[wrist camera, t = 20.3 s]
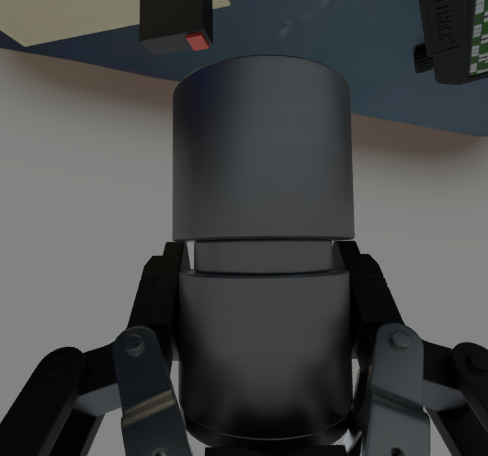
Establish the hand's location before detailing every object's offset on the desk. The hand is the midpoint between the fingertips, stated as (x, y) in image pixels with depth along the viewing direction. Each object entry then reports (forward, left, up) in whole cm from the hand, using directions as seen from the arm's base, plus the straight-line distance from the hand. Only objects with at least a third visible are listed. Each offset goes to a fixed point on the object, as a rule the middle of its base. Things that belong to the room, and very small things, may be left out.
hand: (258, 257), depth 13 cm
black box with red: (-6, -5, -18) cm, 19 cm away
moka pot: (0, 0, -5) cm, 5 cm away
